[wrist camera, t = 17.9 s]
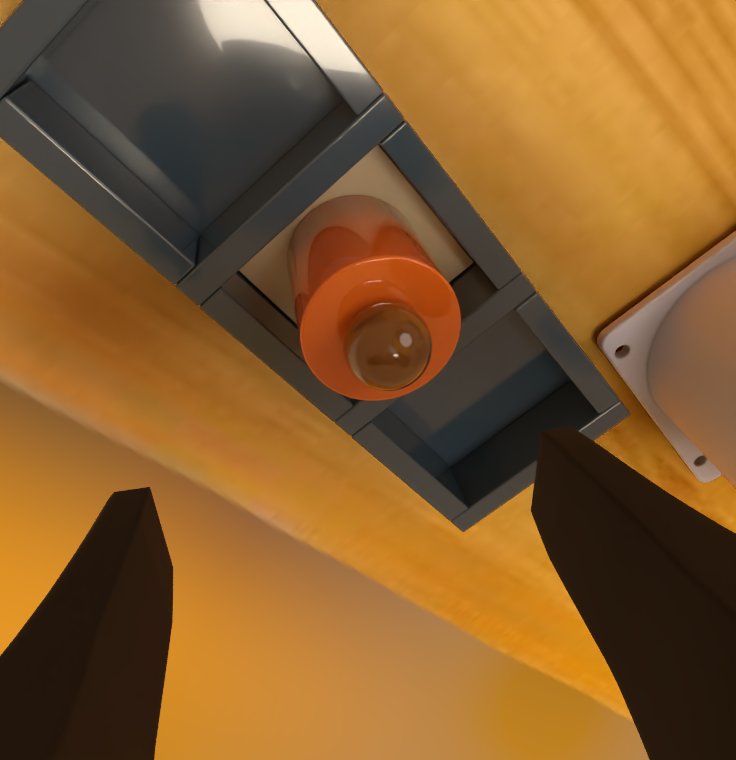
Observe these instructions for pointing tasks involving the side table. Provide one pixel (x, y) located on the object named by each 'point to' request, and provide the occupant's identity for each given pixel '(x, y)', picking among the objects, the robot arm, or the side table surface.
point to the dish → (291, 214)
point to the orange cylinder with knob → (369, 300)
